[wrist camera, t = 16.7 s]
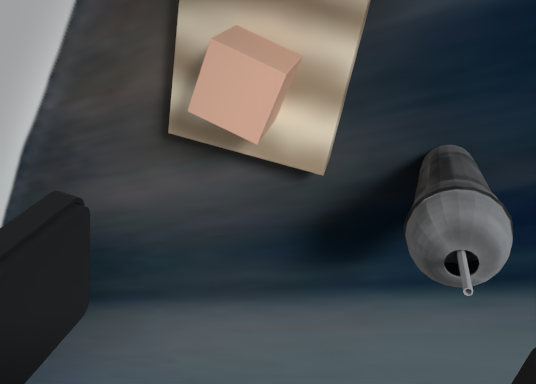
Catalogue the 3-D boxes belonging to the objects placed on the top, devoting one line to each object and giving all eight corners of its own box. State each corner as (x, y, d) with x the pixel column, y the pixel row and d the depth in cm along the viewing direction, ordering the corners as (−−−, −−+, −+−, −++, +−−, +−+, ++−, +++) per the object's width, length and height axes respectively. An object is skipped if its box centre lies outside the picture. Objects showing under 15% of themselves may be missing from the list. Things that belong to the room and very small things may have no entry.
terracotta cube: (236, 24, 41) (210, 38, 36) (302, 56, 41) (286, 74, 36) (213, 90, 44) (187, 111, 39) (275, 119, 44) (257, 144, 39)
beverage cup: (407, 205, 48) (404, 355, 31) (403, 132, 45) (397, 254, 28) (490, 202, 46) (536, 363, 29) (491, 126, 43) (544, 254, 26)
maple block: (201, -42, 43) (182, -41, 40) (372, -5, 41) (368, 1, 38) (185, 119, 51) (168, 132, 47) (329, 158, 49) (323, 175, 45)
